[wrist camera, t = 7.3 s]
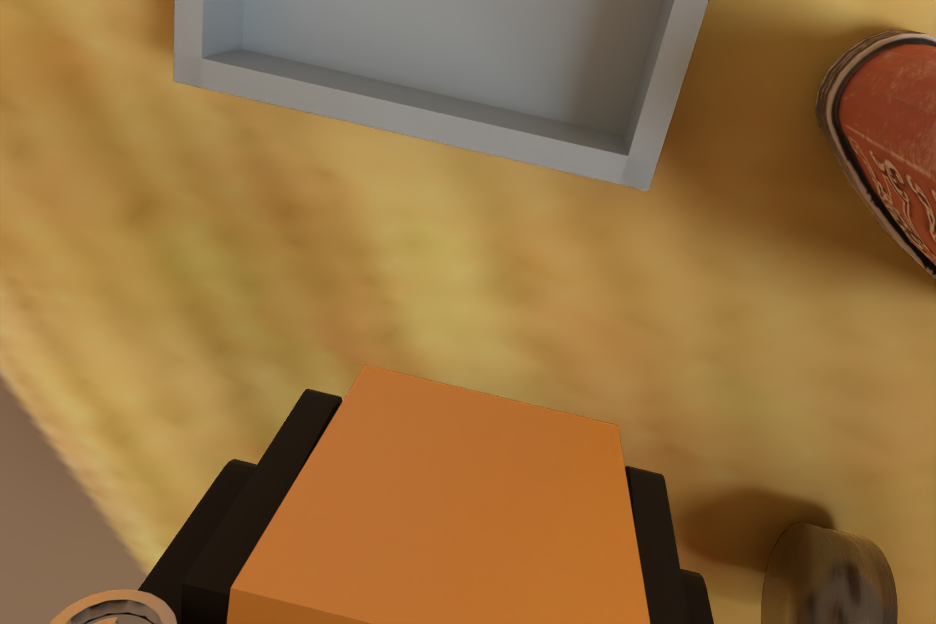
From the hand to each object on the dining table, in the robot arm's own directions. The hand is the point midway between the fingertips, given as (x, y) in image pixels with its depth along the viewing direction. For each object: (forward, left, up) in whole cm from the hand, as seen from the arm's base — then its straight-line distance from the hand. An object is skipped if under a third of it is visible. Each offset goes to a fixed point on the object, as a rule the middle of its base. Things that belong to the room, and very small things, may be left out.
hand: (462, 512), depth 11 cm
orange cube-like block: (0, +1, -1) cm, 1 cm away
